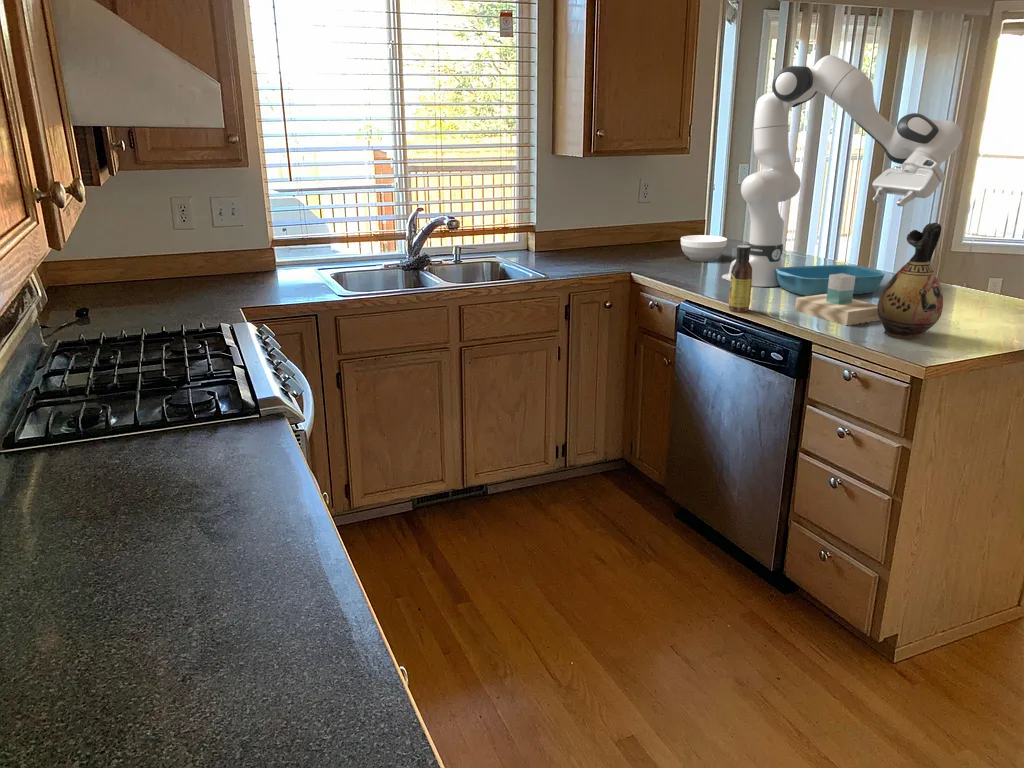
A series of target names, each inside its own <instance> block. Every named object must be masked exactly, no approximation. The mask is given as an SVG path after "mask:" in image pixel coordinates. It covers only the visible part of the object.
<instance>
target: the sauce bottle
mask: <svg viewBox="0 0 1024 768" xmlns="http://www.w3.org/2000/svg"><path fill="white" fill-rule="evenodd" d="M750 250H751V246H748V245H743V244H740V245H737V246H736V257H735V259H736V262H735V264H734V266H733V268H732V271H731V280H730V281H729V294H728V295H729V296H728V309H729V310H730V311H732V312H736V313H745V312H748V311H749V310H750V305H751V294H752V293H751V292H752V286H751V284H752V267H751V265H750V263H749V255H750Z"/></svg>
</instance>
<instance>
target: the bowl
mask: <svg viewBox="0 0 1024 768" xmlns="http://www.w3.org/2000/svg"><path fill="white" fill-rule="evenodd" d="M727 243H728V239H727V237H724V236H719V235H709V234H708V235H707V234H705V235H704V234H702V235H701V234H698V235H697V234H694V235H693V234H692V235H684V236H681V237H680V245H681V250H682V252H683V254H684V255H685V256H686V257H687V258H688V259H689V261H694V262H702V263H703V262H704V263H705V262H706V263H707V262H713V261H716V260H717V259H718V258H720V256H722V255H723V253H724V251H725V249H726V248H727Z"/></svg>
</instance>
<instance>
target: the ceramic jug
mask: <svg viewBox="0 0 1024 768" xmlns="http://www.w3.org/2000/svg"><path fill="white" fill-rule="evenodd" d="M941 233H942V225H941V224H940V223H938V222H932V223H931V222H930V223H927V224H926V225H925V226H924V228H922V232H921V231H920V230H917V229H913V230H911V231H910V232H909V233H908V234H907V235H906V242H907V243H908V244H909V245H911V246H912V247H914V249H915V250H914V254H913V255H912V257H911V258H910V259H909V261H907V262H906V264H904V265H903V266H902V267H901V268H900V269H899V270H898V271H897V272H895V274H894V275H893V276H892V277H891V279H890V280H889V281H888V282H887V283H886V284H885V286H884V287H883V289H882V292H881V294H880V297H879V299H878V302H877V305H878V308H877V310H878V316H879V319H880V323H881V324H882V327H883V328H884V329H883V330H884V332H883V334H884V335H886V336H887V335H888V336H887V337H890V336H891V338H893V337H895V338H896V339H897V338H898V339H901V340H918V339H921V338H922V337H923V335H924V334H925V333H927V331H928V330H930V329H931V328H932V327H934V325H936V323H937V322H938V321H939V319H940V318H941V315H942V312H943V308H944V295H943V290H942V287H941V284H940V281H939V279H938V277H937V274H936V272H935V270H934V269H933V267H932V266H931V260H932V257H933V255H934V251H935V249H936V248H937V245H938V242H939V240H940V238H941Z"/></svg>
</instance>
